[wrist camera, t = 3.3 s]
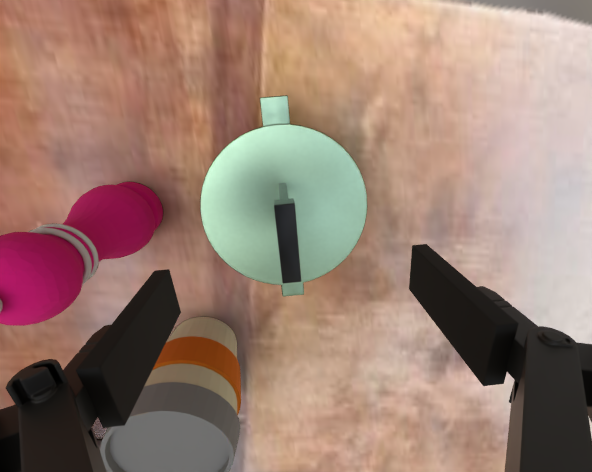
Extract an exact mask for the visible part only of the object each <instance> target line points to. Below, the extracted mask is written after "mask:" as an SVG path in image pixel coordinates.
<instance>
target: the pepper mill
mask: <svg viewBox="0 0 592 472" xmlns="http://www.w3.org/2000/svg"><path fill="white" fill-rule="evenodd" d="M162 217H163V208H162V204H161V202H160V200H159V198H158V197H157V195H156V194H155V193H154V192H153V191H152V190H151V189H149V188H148V187H146V186H144V185H142V184H139V183H135V182H123V183H120V184H117V185H103V186H99V187H96V188H94V189H92V190H90V191H89V192H87V193H85V194H83V195H82V196H81V197H80V198H79V199H78V200H77V202H76V203H75V204H74V205H73V207H72V208H71V211H70V213H69V215H68V217H67V220H66V221H65V222H64V223H63V224H46V225H42V226H40V227H38V228H36V229H34V230H31V231H29V232H12V233H9V234H5V235H1V236H0V323H1V324H5V325H30V324H35V323H39V322H42V321H45V320H47V319H50V318H52V317H54V316H56V315H58V314H59V313H61V312H62V311H64V310H65V309H66V308H67V307H69V306H70V305H71V304H72V303H73V301H74V300H75V299H76V297H77V296H78V295H79V293H80V291H81V287H82V285H83V284H84V283H85V282H86V281H87V280H88V279H89V278H91V277H92V276H93V275H94V273H95V272H96V270H97V268H98V263H99V261H101V260H102V259H112V258H120V257H124V256H127V255H130V254H133V253H135V252H137V251H138V250H140V249H141V248H143V247H144V246H145V245H146V244H147V243H148V242H149V241H150V239H151V238H152V236H153V233H154V230H155V229H156V228H157V227H158V226H159V225H160V223H161V221H162Z"/></svg>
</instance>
